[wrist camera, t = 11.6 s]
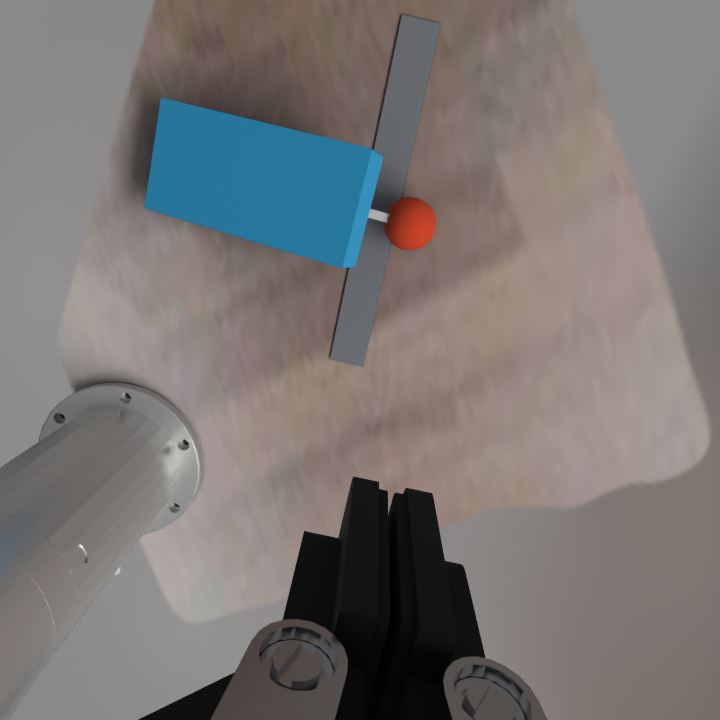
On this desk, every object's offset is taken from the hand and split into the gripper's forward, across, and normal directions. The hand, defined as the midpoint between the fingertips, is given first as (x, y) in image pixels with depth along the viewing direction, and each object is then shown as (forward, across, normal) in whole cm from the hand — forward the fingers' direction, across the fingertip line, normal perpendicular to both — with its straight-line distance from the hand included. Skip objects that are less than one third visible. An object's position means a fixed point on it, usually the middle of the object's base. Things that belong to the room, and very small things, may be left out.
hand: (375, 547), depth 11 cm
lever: (+29, +7, -6) cm, 31 cm away
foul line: (+29, +2, -7) cm, 30 cm away
